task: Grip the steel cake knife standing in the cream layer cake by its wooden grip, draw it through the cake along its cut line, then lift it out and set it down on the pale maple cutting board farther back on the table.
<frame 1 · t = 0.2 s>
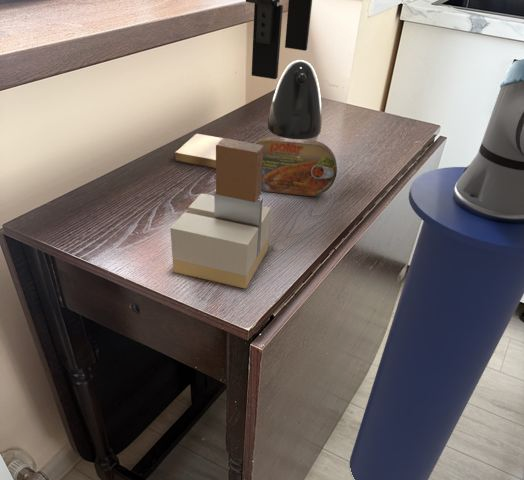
hand: (281, 61, 59), 23 cm above the table, tool pointing down, fingers open, 13 cm apart
board: (216, 156, 94), on the table
tin: (288, 191, 86), on the table
pump dispenser: (292, 148, 99), on the table
cake: (222, 260, 69), on the table
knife: (236, 250, 67), point 2 cm above the table, touching cake
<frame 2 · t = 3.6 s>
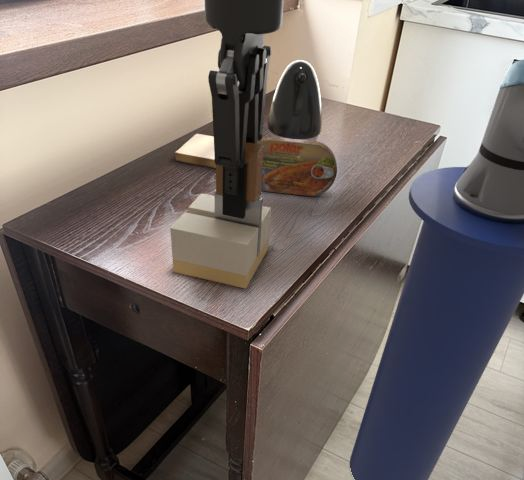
hand: (238, 209, 63), 8 cm above the table, tool pointing down, fingers closed on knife, 2 cm apart
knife: (236, 250, 67), point 2 cm above the table, touching cake, gripper
everything else where it was.
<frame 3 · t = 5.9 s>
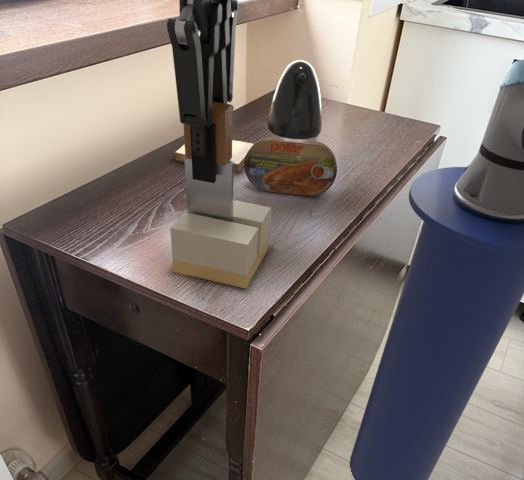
hand: (209, 174, 61), 12 cm above the table, tool pointing down, fingers closed on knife, 2 cm apart
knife: (210, 219, 65), point 6 cm above the table, touching gripper
everything else where it was.
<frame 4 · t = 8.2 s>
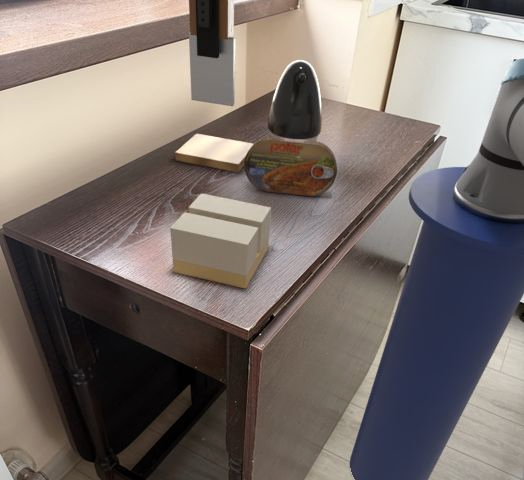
hand: (212, 53, 66), 21 cm above the table, tool pointing down, fingers closed on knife, 2 cm apart
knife: (212, 102, 70), point 15 cm above the table, touching gripper
everything else where it was.
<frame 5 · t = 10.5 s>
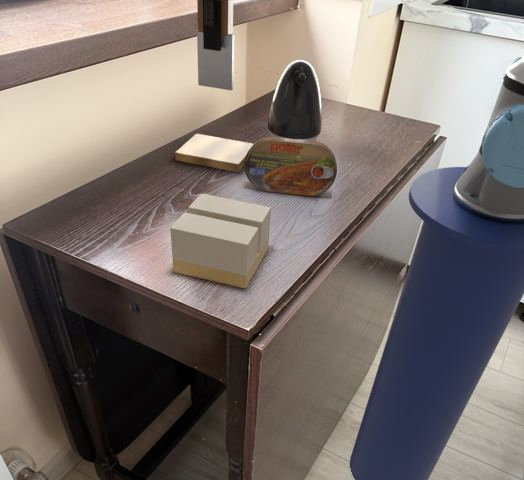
hand: (215, 47, 81), 18 cm above the table, tool pointing down, fingers closed on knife, 2 cm apart
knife: (215, 87, 86), point 12 cm above the table, touching gripper
everything else where it was.
when the fingers open (7 cm above the table, at t = 12.9 s): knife stays where it is, resting on board.
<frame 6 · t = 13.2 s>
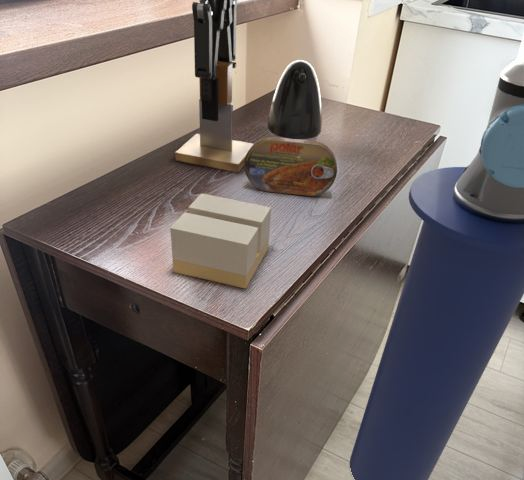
hand: (216, 113, 89), 8 cm above the table, tool pointing down, fingers open, 5 cm apart
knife: (216, 147, 93), point 1 cm above the table, touching board
everything else where it was.
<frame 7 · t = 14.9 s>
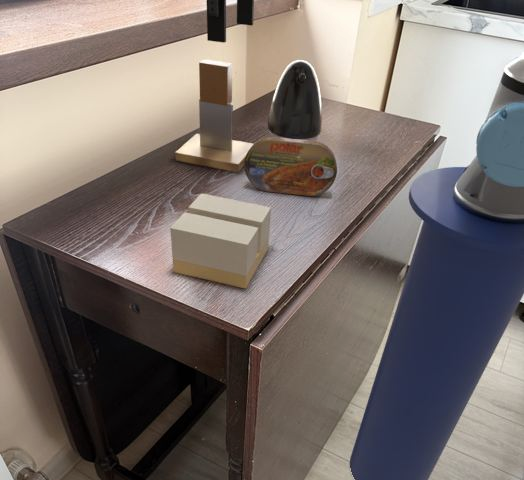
hand: (231, 32, 81), 20 cm above the table, tool pointing down, fingers open, 13 cm apart
nothing on the table moved.
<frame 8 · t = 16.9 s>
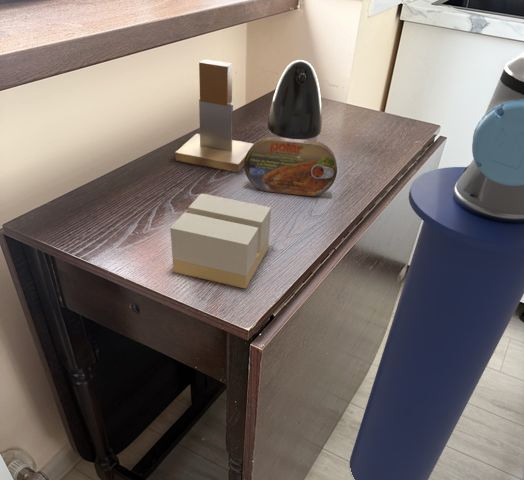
nothing on the table moved.
at the end: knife inside the target area on the board (0.1 cm from its centre), point 1.5 cm above the board's base; the gripper is holding nothing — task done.
